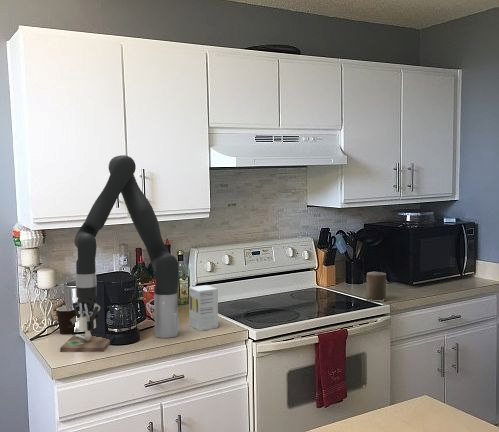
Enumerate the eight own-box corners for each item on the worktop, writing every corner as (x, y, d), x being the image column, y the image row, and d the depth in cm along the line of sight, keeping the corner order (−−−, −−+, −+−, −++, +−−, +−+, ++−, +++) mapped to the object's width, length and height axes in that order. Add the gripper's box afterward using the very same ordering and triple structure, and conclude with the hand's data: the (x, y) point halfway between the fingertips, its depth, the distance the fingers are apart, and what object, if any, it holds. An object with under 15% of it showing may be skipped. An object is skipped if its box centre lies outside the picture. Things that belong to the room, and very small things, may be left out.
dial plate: (114, 338, 229) (114, 334, 229) (103, 351, 213) (103, 347, 213) (73, 338, 229) (73, 334, 229) (60, 351, 213) (60, 347, 213)
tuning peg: (96, 339, 223) (95, 315, 222) (82, 342, 218) (82, 318, 217) (83, 334, 228) (82, 311, 227) (69, 338, 224) (69, 314, 223)
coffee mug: (61, 336, 232) (60, 312, 232) (54, 331, 239) (53, 307, 239) (89, 331, 239) (88, 307, 238) (81, 326, 246) (81, 303, 245)
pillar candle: (381, 303, 286) (382, 273, 285) (363, 300, 291) (363, 271, 290) (388, 299, 294) (389, 270, 293) (369, 297, 299) (370, 268, 298)
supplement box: (188, 325, 247) (188, 286, 246) (207, 322, 252) (207, 284, 251) (199, 331, 239) (198, 290, 238) (218, 327, 244) (218, 288, 243)
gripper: (107, 285, 219) (108, 329, 221) (80, 281, 226) (81, 324, 228) (92, 288, 213) (93, 334, 214) (65, 284, 220) (67, 329, 221)
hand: (87, 329), depth 221 cm, fingers closed on tuning peg, 2 cm apart
